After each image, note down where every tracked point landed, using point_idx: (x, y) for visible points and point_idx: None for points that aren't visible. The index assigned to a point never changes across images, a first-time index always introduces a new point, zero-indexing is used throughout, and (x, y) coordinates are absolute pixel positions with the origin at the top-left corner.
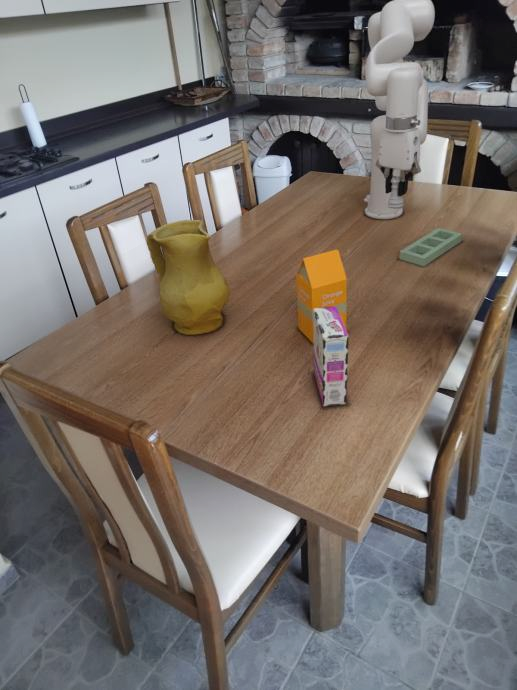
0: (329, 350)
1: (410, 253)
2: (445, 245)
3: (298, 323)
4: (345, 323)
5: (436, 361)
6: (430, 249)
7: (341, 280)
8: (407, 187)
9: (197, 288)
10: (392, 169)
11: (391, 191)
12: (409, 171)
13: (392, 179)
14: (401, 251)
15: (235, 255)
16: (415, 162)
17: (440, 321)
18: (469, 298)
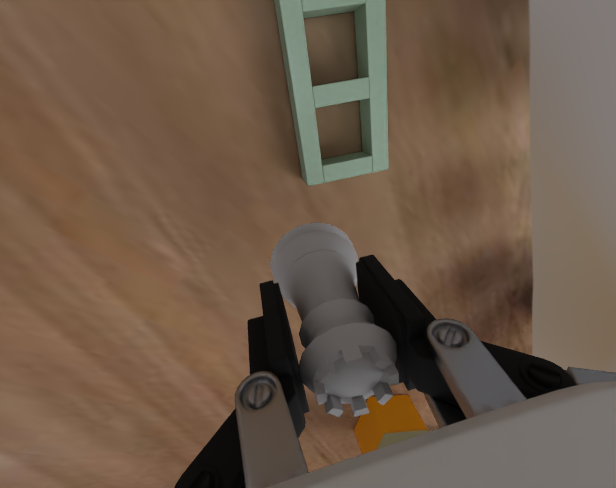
0: None
1: (340, 174)
2: (384, 26)
3: (357, 438)
4: (416, 411)
5: (523, 346)
6: (364, 98)
7: None
8: (410, 291)
9: None
10: (295, 452)
11: (283, 302)
12: (508, 391)
13: (335, 402)
14: (313, 184)
15: (24, 447)
16: None
17: (498, 291)
18: (517, 203)
